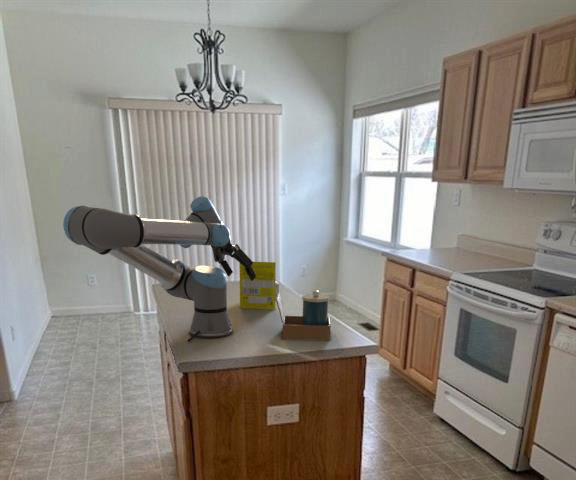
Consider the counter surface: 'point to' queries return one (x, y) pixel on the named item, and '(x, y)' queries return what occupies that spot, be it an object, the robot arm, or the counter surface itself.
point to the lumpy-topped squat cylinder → (276, 289)
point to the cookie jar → (315, 309)
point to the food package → (258, 286)
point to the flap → (280, 307)
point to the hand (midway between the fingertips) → (241, 276)
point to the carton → (304, 329)
